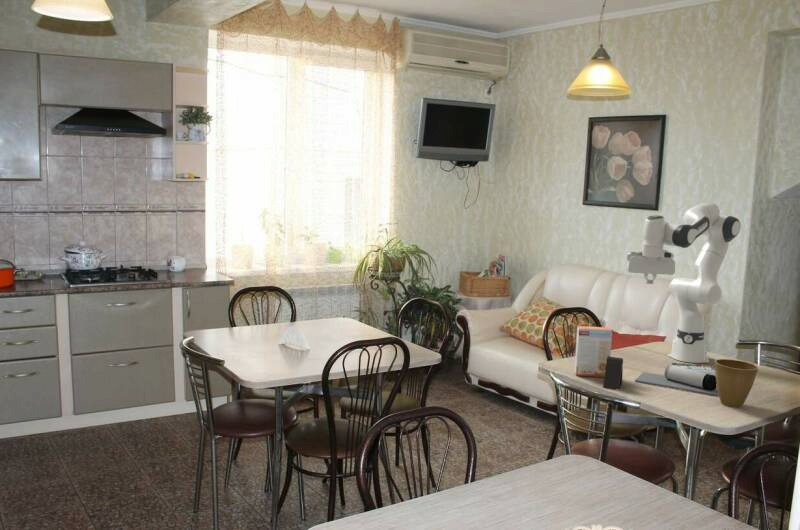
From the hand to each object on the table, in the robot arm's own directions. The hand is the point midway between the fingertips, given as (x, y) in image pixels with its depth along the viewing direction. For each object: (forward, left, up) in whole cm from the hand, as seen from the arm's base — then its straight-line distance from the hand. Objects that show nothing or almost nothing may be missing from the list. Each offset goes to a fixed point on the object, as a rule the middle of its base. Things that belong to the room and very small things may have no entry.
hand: (649, 283), depth 310 cm
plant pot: (+30, +40, -39) cm, 64 cm away
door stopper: (+35, -4, -39) cm, 53 cm away
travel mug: (+10, +13, -35) cm, 39 cm away
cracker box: (+24, -16, -39) cm, 49 cm away
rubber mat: (+14, +18, -39) cm, 45 cm away
